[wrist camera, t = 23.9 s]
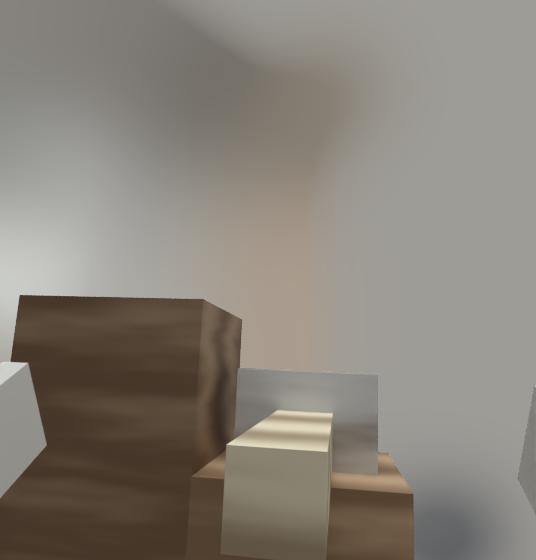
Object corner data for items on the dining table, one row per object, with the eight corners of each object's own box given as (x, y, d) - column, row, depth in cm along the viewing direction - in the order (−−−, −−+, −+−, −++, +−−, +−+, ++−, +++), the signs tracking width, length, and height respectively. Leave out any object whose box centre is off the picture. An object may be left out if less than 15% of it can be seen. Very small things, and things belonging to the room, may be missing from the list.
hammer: (413, 574, 15) (410, 379, 16) (142, 545, 16) (157, 368, 17) (371, 457, 34) (371, 373, 35) (250, 448, 36) (253, 368, 37)
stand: (419, 972, 21) (410, 303, 26) (-60, 866, 24) (19, 295, 30) (389, 755, 32) (387, 323, 38) (68, 704, 36) (108, 315, 41)
